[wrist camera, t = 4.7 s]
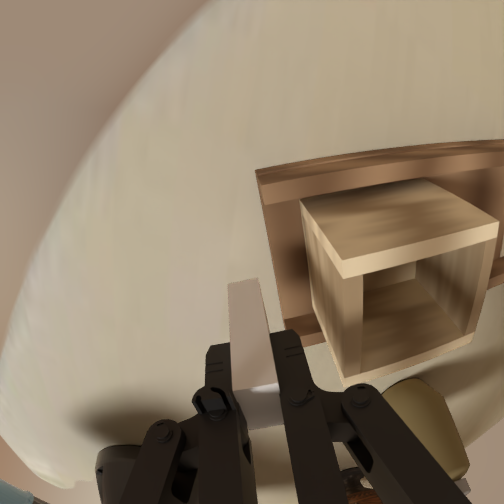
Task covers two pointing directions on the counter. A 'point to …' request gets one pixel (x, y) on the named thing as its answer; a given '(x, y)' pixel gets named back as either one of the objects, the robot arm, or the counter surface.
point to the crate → (396, 274)
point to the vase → (358, 488)
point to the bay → (359, 176)
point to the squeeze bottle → (431, 426)
